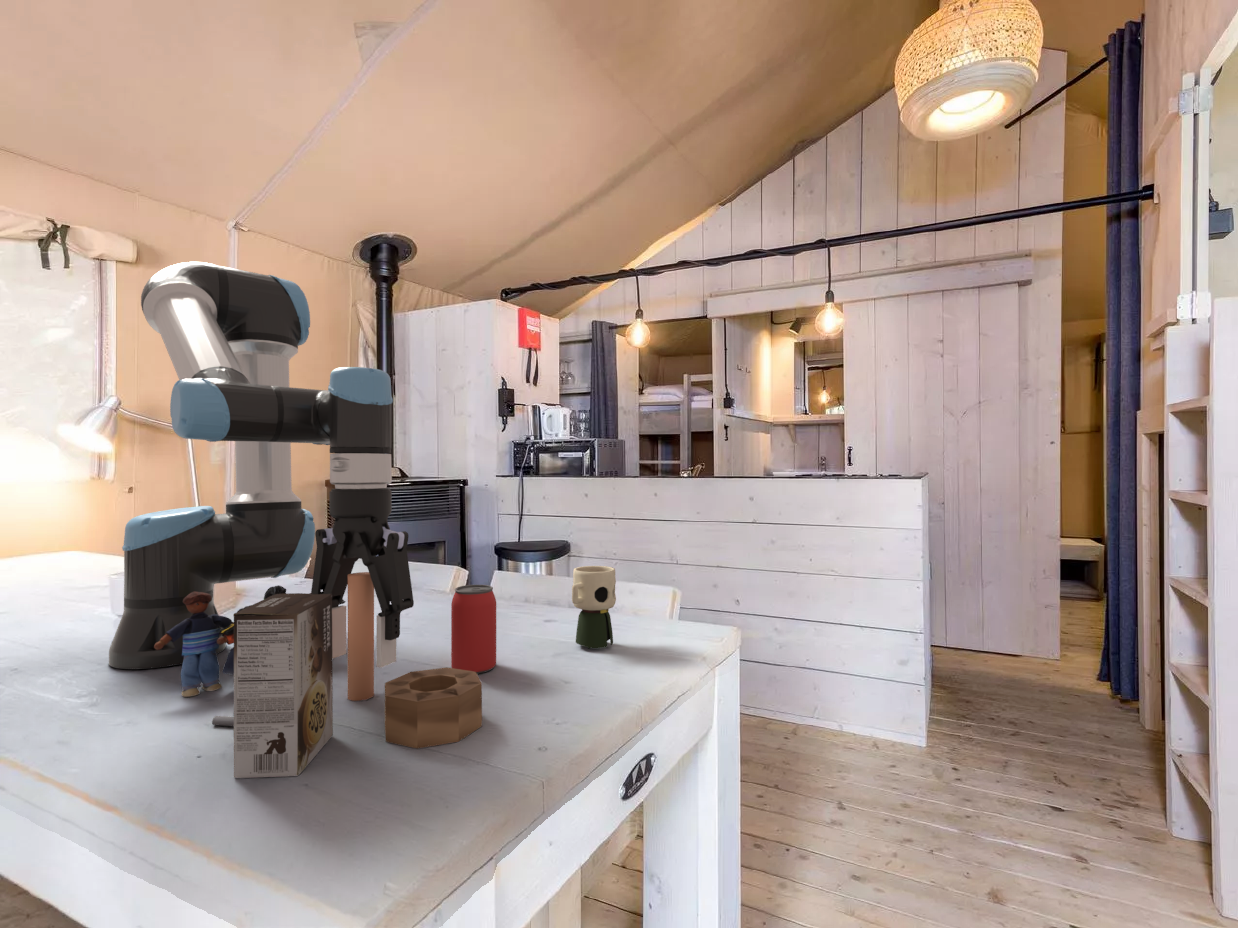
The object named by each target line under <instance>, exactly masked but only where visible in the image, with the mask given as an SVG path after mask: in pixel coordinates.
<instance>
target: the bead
mask: <svg viewBox="0 0 1238 928" xmlns="http://www.w3.org/2000/svg"><path fill="white" fill-rule="evenodd" d="M482 689H483V683H482V680H481V679H480V677H479V676H478V674H477V673H476V672H474V671H468V670H461V669H454V668H452V667H439V668H430V669H423V670H415V671H413V670H412V671H409V672H407V673H405V674H402V675H400V676H397V677H396V678H393V679H391V680H388V681H387V682H384V736H385V742H386V743H389V744H395V745H398V746H399V745H400V746H405V747H409V748H412V749H423V748H428V747H435V746H441V745H447V744H452V743H453V744H454V743H459V742H461V741H462V740H463V739H465V738H466V737H468V736H469V735H471V734H472V733H474V732H476V731H477V730H479V729H480V728H482V727H483V717H482V716H483V702H482V701H483V700H482V699H483V691H482Z"/></svg>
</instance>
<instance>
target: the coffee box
mask: <svg viewBox="0 0 1238 928" xmlns="http://www.w3.org/2000/svg"><path fill="white" fill-rule="evenodd" d="M248 606H249V607H247V608H245V609H243V610H241V611H239V612H237V611H236V612H235V613H233V622H234V643H233V647H234V675H233V717H234V726H233V778H235V779H252V778H253V779H255V778H280V777H281V778H283V777H284V778H285V777H298V776H300V775H301V774H302V773H303V771H304V770H305V769H306V768H307V766H308V765H309V764H310V763H311V762H312V761H313V759H314V758H315V757H316V756H317V755H318V753H319V752H320V751H321V750H322V749H323V748H324V747H325V745H326V744H327V743H328V742H329V741H330V739H331V738H332V737H333V735H334V723H333V721H334V719H333V718H334V717H333V716H334V715H333V712H334V711H333V704H334V701H333V698H334V697H333V696H334V695H333V660H334V658H333V659H332V594H309V593H303V592H300V593H299V592H298V593H297V592H295V593H292V592H291V593H286V594H275V595H273V596H270V597H268V598H266V599H264V598H263V599H262V600H260V601H257V602H255V603H254V604H251V606H250V605H248Z"/></svg>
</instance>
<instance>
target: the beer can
mask: <svg viewBox="0 0 1238 928" xmlns="http://www.w3.org/2000/svg"><path fill="white" fill-rule="evenodd" d="M493 589H494V587H493V586H492V585H488V584H465V585H460V586H458V587H456V588H455V589H454V594H453V596H452V600H451V610H450V611H451V618H450V619H451V622H450V623H451V630H450V631H451V633H450V635H451V639H450V640H451V641H450V642H451V643H450V644H451V648H450V650H451V651H450V653H451V654H450V656H451V659H450V660H451V661H450V662H451V663H450V665H451V667H450V668H454V669H461V670H468V671H474V672H476V673H477V675H478V674H483V673H486V672H489V671H491V670H492V669H494V668H495V667H496V665H497V599H496V595H495V593H494V591H493Z"/></svg>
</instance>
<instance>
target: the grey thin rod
mask: <svg viewBox="0 0 1238 928" xmlns="http://www.w3.org/2000/svg"><path fill="white" fill-rule="evenodd" d="M211 723H212V726H223V727H234V716H228V715H227V716H225V715H215V716H214V717H213V718H212V721H211Z"/></svg>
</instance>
